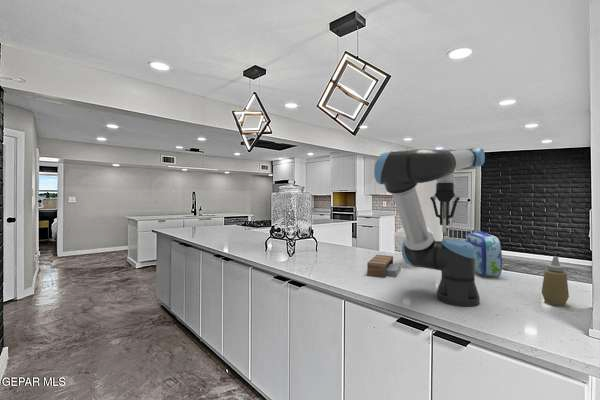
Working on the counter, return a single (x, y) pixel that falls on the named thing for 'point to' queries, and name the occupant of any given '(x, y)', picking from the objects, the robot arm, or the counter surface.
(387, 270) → the panel
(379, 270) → the walnut tunnel
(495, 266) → the lunch box
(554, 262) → the squeeze bottle
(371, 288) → the counter surface
